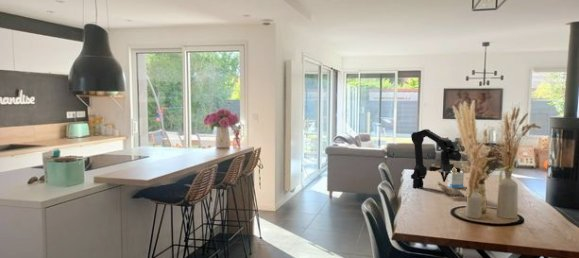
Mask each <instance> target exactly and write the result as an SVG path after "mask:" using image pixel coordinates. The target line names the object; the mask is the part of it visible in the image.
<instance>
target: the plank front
mask: <svg viewBox="0 0 579 258" xmlns="http://www.w3.org/2000/svg"><path fill="white" fill-rule="evenodd" d="M438 186H439V185H438ZM439 188H440V189H441V190H443V191H444V192H446V193H448V194H449V195H450V196H452V197H454V194H453V192H452V191H450V190H448V189H447V188H445V187H443V186H442V185H440V186H439Z"/></svg>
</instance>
